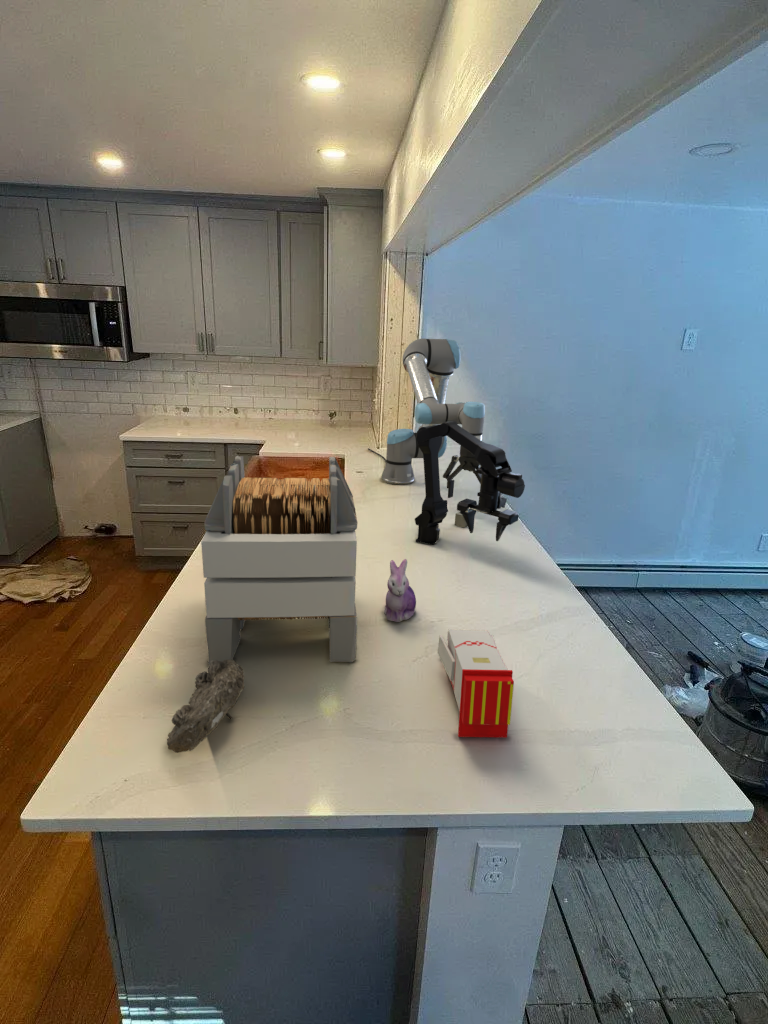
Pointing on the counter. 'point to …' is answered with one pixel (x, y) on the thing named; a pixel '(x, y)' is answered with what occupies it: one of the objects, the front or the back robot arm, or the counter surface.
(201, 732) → the fossil
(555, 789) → the counter surface
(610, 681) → the counter surface
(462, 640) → the toy
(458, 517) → the block
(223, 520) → the record storage crate
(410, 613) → the figurine
